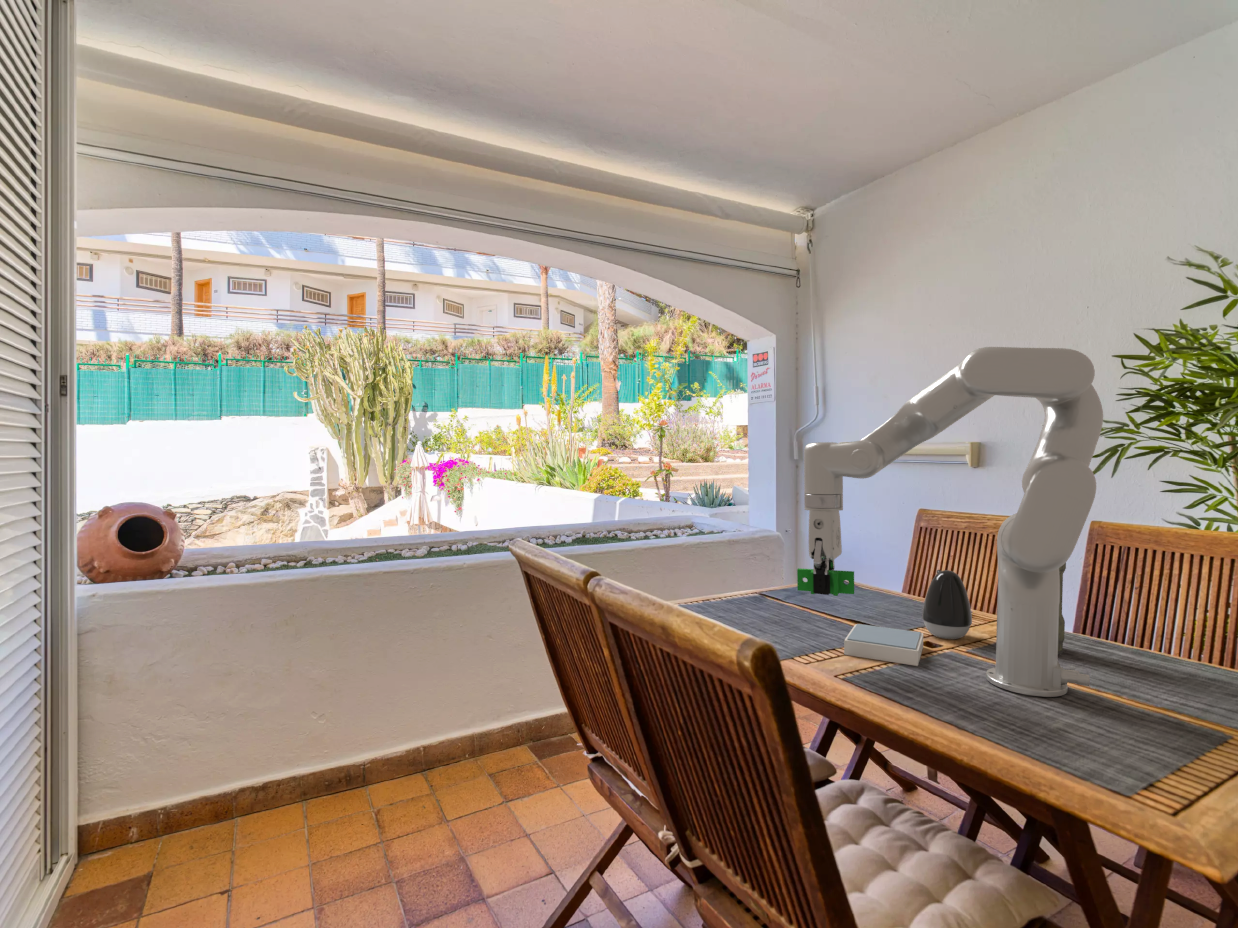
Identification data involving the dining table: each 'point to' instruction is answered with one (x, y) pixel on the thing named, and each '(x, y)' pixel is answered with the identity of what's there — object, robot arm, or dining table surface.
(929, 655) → the dining table surface
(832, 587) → the pipe clamp
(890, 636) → the stand
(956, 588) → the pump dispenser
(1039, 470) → the robot arm
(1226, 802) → the dining table surface
